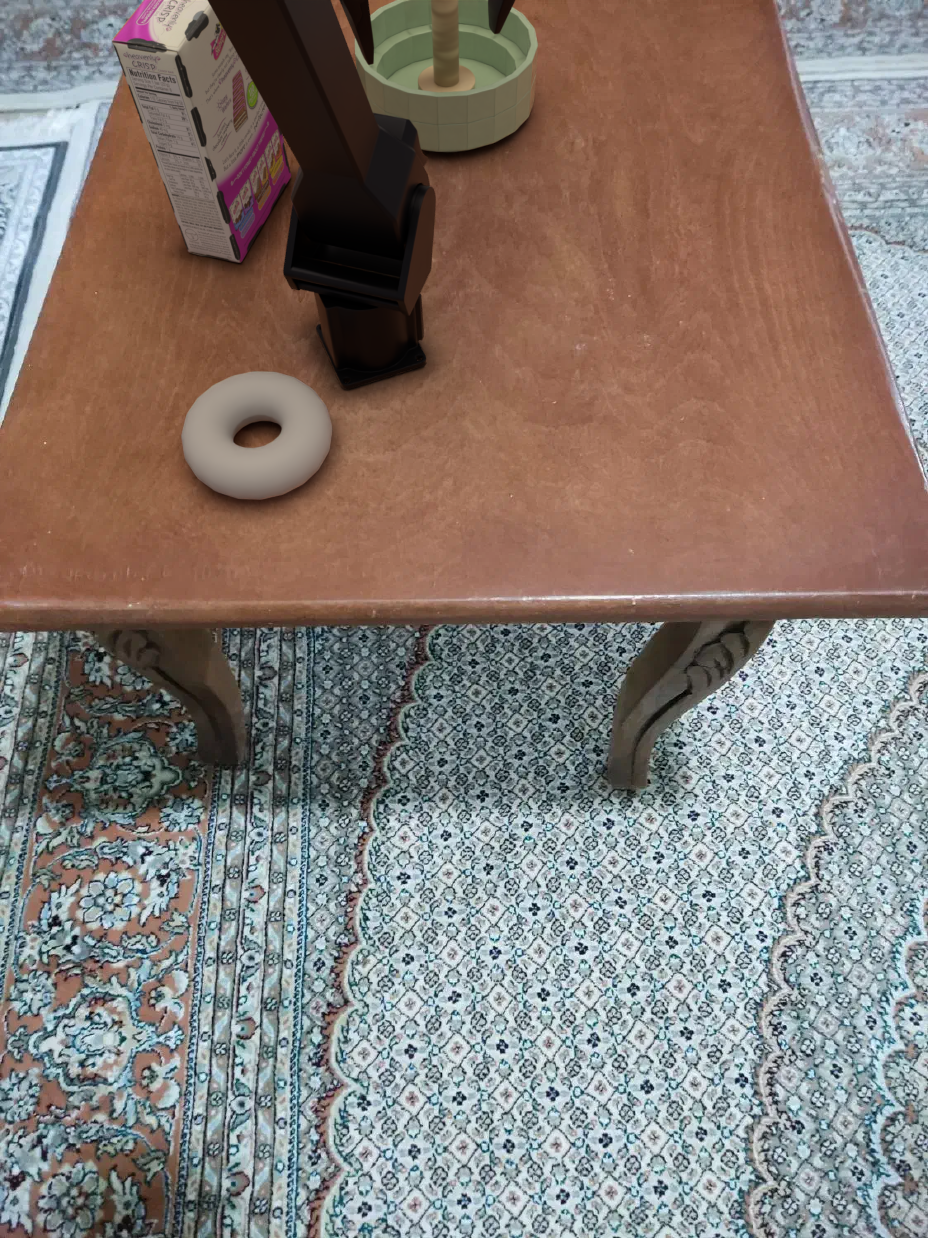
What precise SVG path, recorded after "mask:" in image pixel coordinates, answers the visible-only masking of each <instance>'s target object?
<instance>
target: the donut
mask: <svg viewBox="0 0 928 1238" xmlns="http://www.w3.org/2000/svg"><path fill="white" fill-rule="evenodd" d="M185 415H186V416H185V418H184V422H183V426H182V427H183V428H182V431H181V435H180V439H181V445H182V450H183V456H184V460H185V462H186V464H187V465H188V467H189V468H190V469H191V471H192V472H193V474H194V475H195V477H196V478H197V480H199V481H200V482H202V483H203V484H204V485H206V486H207V487H208V488H210V489H211V490H213V491H214V492H216V493H219V494H221V495H225V496H228V497H231V498H234V499H238V500H258V501H259V500H265V499H270V498H275V497H278V496H279V497H280V496H282V495H285V494H287V493H289V492H291V491H293V490H295V489H297V488H299V487H301V486H304V484H306V482H308V480H309V479H311V478H312V477H313V476H314V475H315V474H316V473H317V472H319V470H320V468H321V466H322V464H323V463H324V462H325V459H326V457H327V456H328V454H329V452H330V450H331V444H332V437H333V424H332V420H331V416H330V413H329V409H328V407H327V404H326V403H325V402H324V400H322V398H321V397H320V395H319V394H318V393H317V391H316V390H315V389H314V388H312V387H311V386H309V385H308V384H306V383H304V382H303V381H301V380H300V379H298V378H297V377H296V376H292V375H288V374H285V373H281V372H279V371H265V370H263V371H261V370H259V371H258V370H254V371H249V372H248V371H247V372H243V373H238V374H234V375H231V376H229V377H227V378H225V379H223V380H221V381H219V382H217V383H214V384H213V385H211V386H210V387H209V388H207V390H205V391H204V392H203V393H202V394H200V395H199V396H198V397H197V398H196V399H195V401H194V403H193V404H192V405H191V407H190V408H189V410H188V411H187V413H186V414H185ZM258 422H272V423H274V424H277V425H279V426H280V428H281V431H280V433H279V435H278V436H277V437H275V438H274V439H273V440H272V441H271V442H269V443H267V444H264V445H261V446H256V447H244V446H241V445H238V444H236V443H235V441H234V439H235V436H237V433H239V431H241V429H243V428H244V427H247V426H248V425H250V424H253V423H258Z"/></svg>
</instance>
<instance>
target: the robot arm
mask: <svg viewBox="0 0 928 1238" xmlns="http://www.w3.org/2000/svg"><path fill="white" fill-rule="evenodd" d="M338 1H339V3H340V5H341V8H342V10H343V12H344V15H345V17H346V19H347V22H348V24H349V27H350V29H351V31H352V33H353V36H354V39H355V38H356V41H357V43H358V46H359V48H360V50H361V53H362V55H363V57H364V59H365V61H366V62H367V64H368V65H372V64H374V40H373V32H372V24H371V17H370V15H371V10H370V3H369V0H338ZM208 2H209V4H210V6H211V7H212V9H213V11H214V13H215V15H216V16H217V18H218V20H219V22H220V24H221V25H222V27H223V29H224V31H225V33H226V34H227V36H228V38H229V40H230V41H231V43H232V45H233V47H234V49H235V50H236V52H237V54H238V56H239V58H240V59H241V61H242V63H243V65H244V67H245V68H246V70H247V72H248V74H249V75H250V77H251V79H252V81H253V83H254V84H255V86H256V88H257V90H258V92H259V93H260V95H261V97H262V99H263V101H264V102H265V104H266V106H267V108H268V110H269V111H270V113H271V115H272V117H273V118H274V120H275V122H276V124H277V126H278V127H279V129H280V131H281V133H282V135H283V139H284V141H285V142H286V144H287V145H288V147H289V149H290V151H291V152H292V154H293V156H294V158H295V160H296V161H297V163H298V165H299V166H298V169H297V173H296V175H295V176H296V177H295V180H294V182H293V186H292V190H291V193H290V197H289V198H290V201H291V205H292V206H291V212H290V220H289V227H288V233H287V238H286V239H287V241H286V247H285V254H284V263H283V269H282V273H283V277H284V279H285V280H286V283H287V284H288V285H289V287H290V289H291V290H294V291H298V292H300V291H304V292H309V293H313V294H314V300H315V303H316V309H317V314H318V319H319V320H318V321H319V323H318V324H317V325H316V327H315V330H316V334H317V337H318V339H319V341H320V343H321V345H322V348H323V350H324V352H325V354H326V356H327V359H328V361H329V364H330V365H331V367H332V369H333V370H332V371H334V374H335V376H336V378H337V381H338V383H339V385H340V387H341V388H342V389H344V390H351V389H354V388H357V387H360V386H363V385H366V384H370V383H374V382H377V381H380V380H383V379H386V378H389V377H392V376H396V375H399V374H403V373H406V372H409V371H412V370H415V369H419V368H422V367H424V366H425V365H426V364H427V362H428V361H427V355H426V353H425V351H424V349H423V348H422V346H421V343H420V342H421V341H423V339H424V338H425V331H424V330H425V329H424V314H423V313H424V312H423V299H422V294H421V293H422V291H423V289H424V287H425V284H426V283H427V280H428V278H429V276H430V274H431V272H432V266H433V251H434V238H435V237H434V236H435V223H436V210H437V195H436V190H435V188H434V187H433V186H431V184H430V178H429V174H428V172H427V170H426V168H425V166H426V165H427V163H428V156H426V155H425V154H424V152H423V150H421V147H420V142H419V137H418V131H417V129H416V128H415V126H414V125H413V124H412V122H411V121H410V120H409V119H404V118H399V117H394V116H388V115H383V114H378V113H373V111H372V109H371V106H370V103H369V101H368V98H367V95H366V93H365V90H364V87H363V85H362V82H361V79H360V77H359V74H358V71H357V67H356V63H355V61H354V58H353V56H352V52H351V50H350V47H349V45H348V42H347V39H346V37H345V35H344V31H343V29H342V26H341V23H340V21H339V19H338V16H337V13H336V9H335V8H334V5H333V2H332V0H208ZM515 3H516V0H488V18H489V28H490V29H491V31H492V32H493V33H494V34H499V33H500V32H501V30H502V28H503V25H504V23H505V21H506V19H507V17H508V15H509V13H510V11H511V9H512V7H513V6H514V4H515ZM513 8H514V7H513Z"/></svg>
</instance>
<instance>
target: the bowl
mask: <svg viewBox="0 0 928 1238" xmlns="http://www.w3.org/2000/svg"><path fill="white" fill-rule="evenodd" d="M458 13H459V65H462V66H464V67H466V68H468V69H469V70H471V72H472V73H473V74H474V76H475V89H471V90H467V91H455V92H432V91H425V90H418V77H419V75H420V74H421V72H422V71H423V70H425V69H426V68H428V67H430V66H433V42H432V15H431V0H394V1H392V2H389V3H387V4H385V5H383V6H380V7H379V8H377V9H376V10H375V11H374V12H372V13H370V17H371V24H372V32H373V40H374V64H372V65H368V64H367V62H366V61H365V59H364V57H363V55H362V53H361V50H360V48H359V46H358V43H357V41H356V38H355V37H354V58H355V66H356V69H357V71H358V74H359V77H360V79H361V82H362V85H363V87H364V90H365V93H366V95H367V98H368V101H369V103H370V106H371V109H372V111H373V113H378V114H383V115H388V116H394V117H399V118H404V119H409V120H410V121H411V122H412V124H413V125H414V126H415V128H416V129H417V131H418V137H419V142H420V147H421V150H422V151H427V152H433V153H434V152H435V153H458V152H466V151H470V150H475V149H479V148H482V147H485V146H488V145H492V144H494V143H497V142H499V141H500V140H502V139H504V138H506V137H508V136H509V135H512V134H513V133H515V132H516V131H517V130H518V129H520V127H521V126H522V125H523V124H524V123H525V121H527V119H529V117H530V114H531V111H532V109H533V107H534V102H535V99H536V83H537V70H538V69H537V67H538V53H539V52H538V51H539V43H538V39H537V33H536V28H535V26H533V25H532V23H531V22H530V21H529V19H528V17H526V15H525V14H523V12H522V11H519V10H518V9H516V8H515V7H512V9H511V11H510V13H509V15H508V17H507V19H506V21H505V23H504V25H503V28H502V30H501V32H500V33H499V34H494V33H493V32H492V31H491V29H490V28H489V18H488V0H458Z"/></svg>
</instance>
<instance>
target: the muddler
mask: <svg viewBox="0 0 928 1238" xmlns="http://www.w3.org/2000/svg"><path fill="white" fill-rule="evenodd" d="M431 15H432V42H433V66H430V67H428V68H426V69H425V70H423V71H422V72H421V74H420V75H419V77H418V90H425V91H432V92H455V91H467V90H471V89H475V76H474V74H473V73H472V72H471V70H469V69H468V68H466V67H464V66H462V65H459V13H458V0H431Z"/></svg>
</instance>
